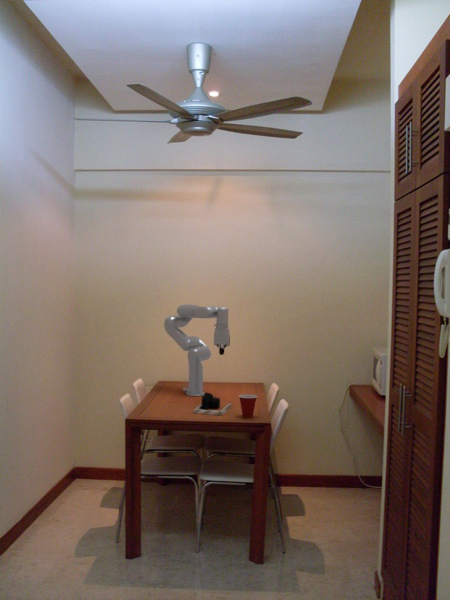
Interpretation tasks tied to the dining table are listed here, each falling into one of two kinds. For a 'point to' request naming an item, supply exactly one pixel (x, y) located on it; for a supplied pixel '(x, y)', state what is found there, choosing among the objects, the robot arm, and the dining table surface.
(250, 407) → the plastic cup
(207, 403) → the film camera
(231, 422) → the dining table surface
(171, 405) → the dining table surface
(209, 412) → the camera rest
